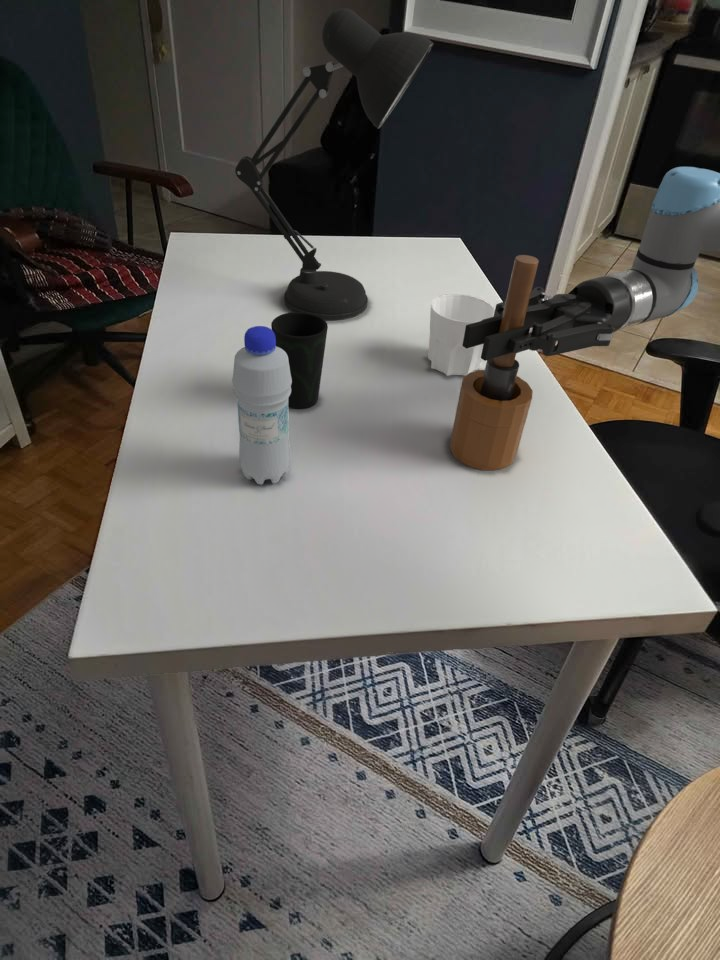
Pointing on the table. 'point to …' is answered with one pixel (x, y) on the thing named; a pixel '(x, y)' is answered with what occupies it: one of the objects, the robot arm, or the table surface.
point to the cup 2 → (455, 332)
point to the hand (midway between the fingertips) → (475, 342)
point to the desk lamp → (381, 84)
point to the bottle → (262, 406)
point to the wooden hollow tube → (488, 424)
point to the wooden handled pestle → (505, 367)
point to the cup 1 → (302, 354)
